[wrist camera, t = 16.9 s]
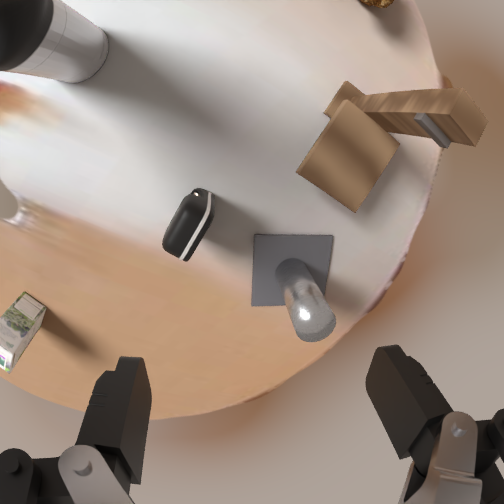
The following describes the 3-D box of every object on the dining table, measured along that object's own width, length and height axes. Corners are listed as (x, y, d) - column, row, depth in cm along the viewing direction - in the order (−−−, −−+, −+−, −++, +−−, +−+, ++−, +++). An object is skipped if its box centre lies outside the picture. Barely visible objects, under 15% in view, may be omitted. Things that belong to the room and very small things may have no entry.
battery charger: (192, 180, 43) (184, 199, 32) (216, 193, 44) (215, 216, 33) (169, 222, 44) (155, 253, 34) (192, 234, 46) (184, 268, 35)
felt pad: (251, 304, 51) (251, 306, 51) (254, 234, 47) (254, 235, 46) (321, 301, 53) (322, 303, 52) (331, 234, 48) (333, 236, 47)
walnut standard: (333, 198, 46) (426, 267, 24) (284, 165, 43) (353, 211, 21) (387, 116, 41) (506, 128, 19) (341, 79, 39) (450, 54, 17)
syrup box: (18, 310, 47) (-17, 356, 34) (24, 289, 46) (-16, 335, 33) (41, 326, 49) (9, 376, 36) (47, 306, 48) (12, 356, 34)
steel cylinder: (274, 287, 50) (293, 343, 37) (276, 258, 48) (298, 309, 35) (304, 286, 50) (331, 340, 37) (308, 257, 48) (339, 306, 36)
